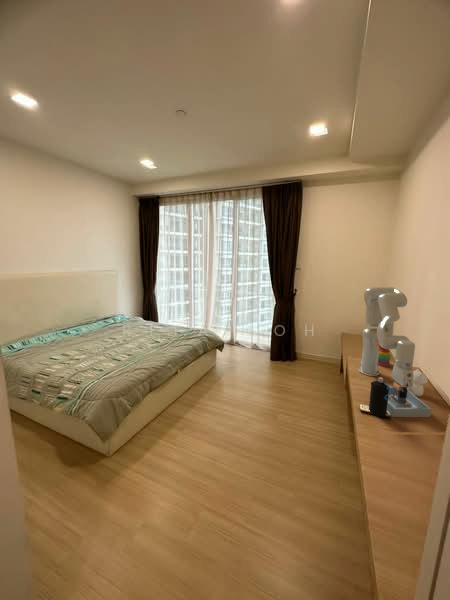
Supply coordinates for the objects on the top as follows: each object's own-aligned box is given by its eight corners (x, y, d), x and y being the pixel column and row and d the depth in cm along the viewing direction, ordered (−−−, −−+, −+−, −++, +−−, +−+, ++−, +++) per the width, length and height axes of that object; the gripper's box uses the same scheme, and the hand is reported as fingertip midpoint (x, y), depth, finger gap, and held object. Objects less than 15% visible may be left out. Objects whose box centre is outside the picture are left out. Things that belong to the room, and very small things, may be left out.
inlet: (386, 399, 132) (386, 395, 132) (400, 399, 132) (401, 395, 131) (395, 409, 124) (396, 404, 124) (411, 409, 124) (412, 404, 123)
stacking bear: (386, 361, 179) (389, 338, 175) (393, 367, 169) (396, 344, 166) (371, 360, 181) (373, 338, 178) (376, 366, 171) (379, 343, 168)
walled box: (370, 394, 139) (371, 386, 138) (402, 394, 138) (403, 386, 137) (393, 418, 119) (394, 408, 118) (430, 418, 118) (431, 409, 117)
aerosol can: (368, 415, 121) (372, 380, 117) (367, 406, 129) (370, 372, 125) (388, 420, 118) (392, 384, 114) (385, 410, 125) (389, 375, 121)
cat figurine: (426, 400, 132) (431, 375, 129) (399, 394, 138) (403, 371, 135) (422, 391, 140) (426, 368, 137) (396, 386, 146) (400, 364, 143)
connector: (400, 397, 129) (401, 382, 127) (405, 401, 125) (406, 386, 124) (392, 397, 129) (393, 382, 128) (397, 402, 125) (398, 386, 124)
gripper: (423, 371, 115) (418, 404, 118) (400, 356, 131) (396, 386, 135) (407, 371, 115) (403, 404, 119) (386, 356, 132) (383, 386, 135)
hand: (399, 394), depth 127 cm, fingers closed on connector, 4 cm apart
